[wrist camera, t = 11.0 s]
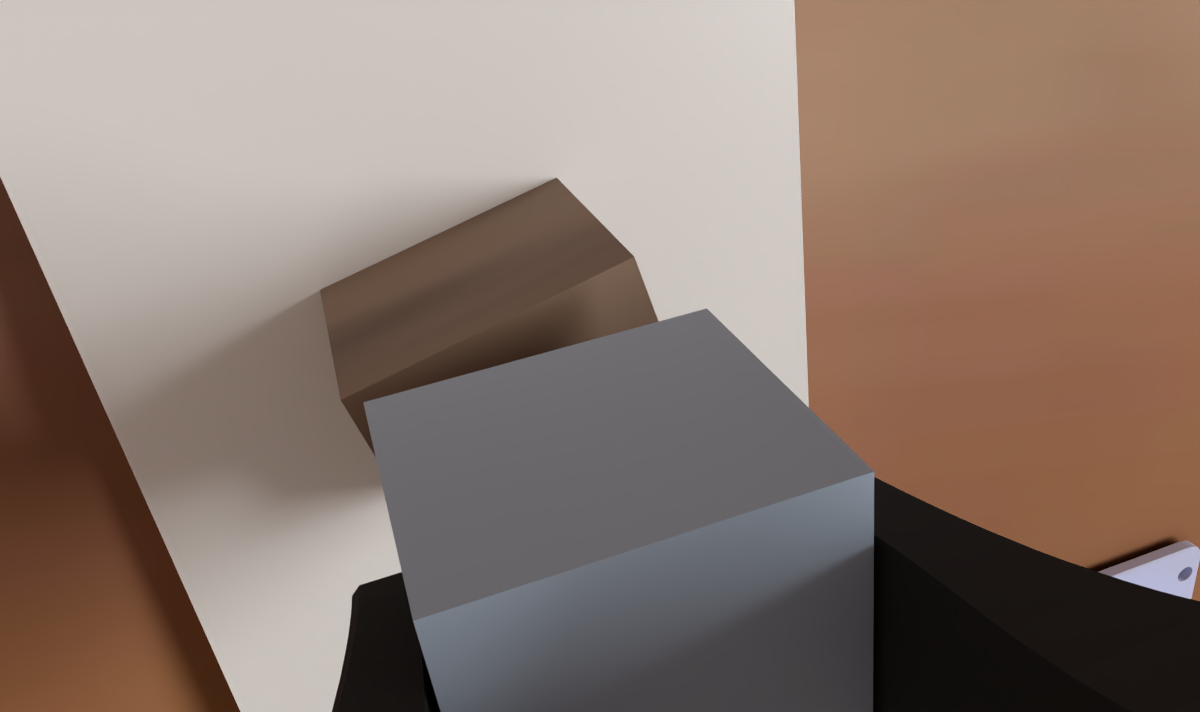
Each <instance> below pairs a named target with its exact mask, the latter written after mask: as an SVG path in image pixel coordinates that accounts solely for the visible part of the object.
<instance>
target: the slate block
mask: <svg viewBox="0 0 1200 712" xmlns="http://www.w3.org/2000/svg"><path fill="white" fill-rule="evenodd" d="M363 403H364V408H365V412H366V417H367V421H368V425H369V430H370V434H371V439H372V443H373V447H374V452H375V456H376V461H377V465H378V469H379V474H380V478H381V482H382V487H383V491H384V496H385V500H386V504H387V509H388V513H389V518H390V522H391V526H392V531H393V535H394V540H395V544H396V548H397V553H398V557H399V561H400V566H401V570H402V575H403V579H404V583H405V588H406V592H407V597H408V601H409V605H410V610H411V614H412V619H413V622H414V626H415V629H416V632H417V636H418V639H419V642H420V645H421V649H422V652H423V655H424V659H425V662H426V665H427V669H428V672H429V675H430V678H431V682H432V685H433V688H434V692H435V695H436V698H437V701H438V705H439V708H440V711H441V712H873V620H874V471H873V470H872V469H871V468H870V467H869V466H868V465H867V464H866V463H865V462H864V461H863V460H862V459H861V458H860V457H859V456H858V455H857V454H856V453H855V452H854V451H853V450H852V449H851V448H850V447H849V446H848V445H847V444H845V443H844V442H843V441H842V440H841V439H840V438H839V437H838V436H837V435H836V434H835V433H834V432H833V431H832V430H831V429H830V428H829V427H828V426H827V425H826V424H825V423H824V422H823V421H822V420H821V419H820V418H819V417H818V416H817V415H816V414H815V413H814V412H813V411H812V410H811V409H810V408H809V407H807V406H806V405H805V404H804V403H803V402H802V401H801V400H800V399H799V398H798V397H797V396H796V395H795V394H794V393H793V392H792V391H791V390H790V389H789V388H788V387H787V386H786V385H785V384H784V383H783V382H782V381H781V380H780V379H779V378H778V377H777V376H776V375H775V374H774V373H773V372H772V371H771V370H770V369H768V368H767V367H766V366H765V365H764V364H763V363H762V362H761V361H760V360H759V359H758V358H757V357H756V356H755V355H754V354H753V353H752V352H751V351H750V350H749V349H748V348H747V347H746V346H745V345H744V344H743V343H742V342H741V341H740V340H739V339H738V338H737V337H736V336H735V335H734V334H733V333H732V332H731V331H729V330H728V329H727V328H726V327H725V326H724V325H723V324H722V323H721V322H720V321H719V320H718V319H717V318H716V317H715V316H714V315H713V314H712V313H711V312H710V311H709V310H708V309H707V308H706V309H703V310H699V311H695V312H692V313H688V314H684V315H681V316H677V317H673V318H670V319H666V320H662V321H659V322H655V323H652V324H648V325H644V326H641V327H637V328H633V329H630V330H626V331H622V332H619V333H615V334H611V335H608V336H604V337H600V338H597V339H593V340H589V341H586V342H582V343H578V344H575V345H571V346H568V347H564V348H560V349H557V350H553V351H549V352H546V353H542V354H538V355H535V356H531V357H527V358H524V359H520V360H516V361H513V362H509V363H505V364H502V365H498V366H494V367H491V368H487V369H484V370H480V371H476V372H473V373H469V374H465V375H462V376H458V377H454V378H451V379H447V380H443V381H440V382H436V383H432V384H429V385H425V386H421V387H418V388H414V389H410V390H407V391H403V392H399V393H396V394H392V395H389V396H385V397H381V398H378V399H374V400H370V401H367V402H363Z"/></svg>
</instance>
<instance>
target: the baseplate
mask: <svg viewBox="0 0 1200 712" xmlns="http://www.w3.org/2000/svg"><path fill="white" fill-rule="evenodd" d="M0 177H1V179H2V182H3V184H4V186H5V188H6V191H7V193H8V195H9V197H10V199H11V202H12V204H13V206H14V208H15V211H16V213H17V215H18V217H19V220H20V222H21V224H22V226H23V228H24V231H25V233H26V235H27V237H28V240H29V242H30V244H31V246H32V249H33V251H34V253H35V255H36V257H37V260H38V262H39V264H40V266H41V269H42V271H43V273H44V275H45V277H46V280H47V282H48V284H49V286H50V289H51V291H52V293H53V295H54V298H55V300H56V302H57V304H58V306H59V309H60V311H61V313H62V315H63V318H64V320H65V322H66V324H67V326H68V329H69V331H70V333H71V335H72V338H73V340H74V342H75V344H76V347H77V349H78V351H79V353H80V355H81V358H82V360H83V362H84V364H85V367H86V369H87V371H88V373H89V376H90V378H91V380H92V382H93V384H94V387H95V389H96V391H97V393H98V396H99V398H100V400H101V402H102V404H103V407H104V409H105V411H106V413H107V416H108V418H109V420H110V422H111V425H112V427H113V429H114V431H115V433H116V436H117V438H118V440H119V442H120V445H121V447H122V449H123V451H124V453H125V456H126V458H127V460H128V462H129V465H130V467H131V469H132V471H133V474H134V476H135V478H136V480H137V482H138V485H139V487H140V489H141V491H142V494H143V496H144V498H145V500H146V502H147V505H148V507H149V509H150V511H151V514H152V516H153V518H154V520H155V523H156V525H157V527H158V529H159V531H160V534H161V536H162V538H163V540H164V543H165V545H166V547H167V549H168V552H169V554H170V556H171V558H172V560H173V563H174V565H175V567H176V569H177V572H178V574H179V576H180V578H181V580H182V583H183V585H184V587H185V589H186V592H187V594H188V596H189V598H190V601H191V603H192V605H193V607H194V609H195V612H196V614H197V616H198V618H199V621H200V623H201V625H202V627H203V629H204V632H205V634H206V636H207V638H208V641H209V643H210V645H211V647H212V650H213V652H214V654H215V656H216V658H217V661H218V663H219V665H220V667H221V670H222V672H223V674H224V676H225V679H226V681H227V683H228V685H229V687H230V690H231V692H232V694H233V696H234V699H235V701H236V703H237V705H238V707H239V710H240V712H332V709H333V705H334V701H335V697H336V693H337V689H338V685H339V681H340V676H341V671H342V666H343V661H344V656H345V651H346V646H347V640H348V634H349V627H350V618H351V607H352V595H353V594H354V592H355V591H356V589H357V588H358V586H359V585H362V584H365V583H368V582H371V581H374V580H378V579H381V578H384V577H387V576H390V575H394V574H397V573H400V572H402V570H401V566H400V561H399V557H398V553H397V548H396V544H395V540H394V535H393V531H392V526H391V522H390V518H389V513H388V509H387V504H386V500H385V496H384V491H383V487H382V482H381V478H380V474H379V469H378V465H377V461H376V457H375V455H374V454H373V452H372V450H371V449H370V447H369V446H368V444H367V442H366V441H365V439H364V437H363V436H362V434H361V433H360V431H359V429H358V428H357V426H356V424H355V423H354V421H353V419H352V418H351V416H350V415H349V413H348V411H347V410H346V408H345V406H344V405H343V403H342V402H341V400H340V394H339V389H338V384H337V378H336V373H335V368H334V362H333V357H332V352H331V346H330V341H329V336H328V330H327V325H326V320H325V314H324V309H323V304H322V298H321V293H320V290H321V289H323V288H325V287H327V286H329V285H331V284H333V283H336V282H338V281H340V280H342V279H344V278H346V277H348V276H350V275H352V274H355V273H357V272H359V271H361V270H363V269H365V268H367V267H369V266H371V265H373V264H376V263H378V262H380V261H382V260H384V259H386V258H388V257H390V256H392V255H395V254H397V253H399V252H401V251H403V250H405V249H407V248H409V247H411V246H414V245H416V244H418V243H420V242H422V241H424V240H426V239H428V238H430V237H433V236H435V235H437V234H439V233H441V232H443V231H445V230H447V229H449V228H451V227H454V226H456V225H458V224H460V223H462V222H464V221H466V220H468V219H470V218H473V217H475V216H477V215H479V214H481V213H483V212H485V211H487V210H489V209H492V208H494V207H496V206H498V205H500V204H502V203H504V202H506V201H508V200H511V199H513V198H515V197H517V196H519V195H521V194H523V193H525V192H527V191H529V190H532V189H534V188H536V187H538V186H540V185H542V184H544V183H546V182H548V181H551V180H553V179H555V178H558V179H559V180H560V181H561V182H562V183H563V184H564V185H565V187H566V188H567V189H568V190H569V191H570V192H571V193H572V194H573V195H574V196H575V197H576V198H577V199H578V200H579V201H580V202H581V203H582V204H583V205H584V206H585V207H586V208H587V209H588V210H589V211H590V212H591V213H592V214H593V215H594V216H595V217H596V218H597V219H598V220H599V221H600V222H601V223H602V224H603V225H604V226H605V227H606V228H607V229H608V230H609V231H610V232H611V233H612V234H613V235H614V236H615V237H616V239H617V240H618V241H619V242H620V243H621V244H622V245H623V246H624V247H625V248H626V249H627V250H628V251H629V252H630V253H631V254H632V255H633V256H634V257H635V260H636V262H637V265H638V268H639V270H640V273H641V276H642V278H643V281H644V284H645V286H646V289H647V292H648V294H649V297H650V300H651V303H652V305H653V308H654V311H655V313H656V316H657V319H658V321H662V320H666V319H670V318H673V317H677V316H681V315H684V314H688V313H692V312H695V311H699V310H703V309H706V308H707V309H708V310H709V311H710V312H711V313H712V314H713V315H714V316H715V317H716V318H717V319H718V320H719V321H720V322H721V323H722V324H723V325H724V326H725V327H726V328H727V329H728V330H729V331H731V332H732V333H733V334H734V335H735V336H736V337H737V338H738V339H739V340H740V341H741V342H742V343H743V344H744V345H745V346H746V347H747V348H748V349H749V350H750V351H751V352H752V353H753V354H754V355H755V356H756V357H757V358H758V359H759V360H760V361H761V362H762V363H763V364H764V365H765V366H766V367H767V368H768V369H770V370H771V371H772V372H773V373H774V374H775V375H776V376H777V377H778V378H779V379H780V380H781V381H782V382H783V383H784V384H785V385H786V386H787V387H788V388H789V389H790V390H791V391H792V392H793V393H794V394H795V395H796V396H797V397H798V398H799V399H800V400H801V401H802V402H803V403H804V404H805V405H806V406H807V407H809V402H808V374H807V346H806V318H805V290H804V261H803V233H802V205H801V177H800V149H799V121H798V93H797V65H796V36H795V8H794V0H0Z"/></svg>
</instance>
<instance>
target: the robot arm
mask: <svg viewBox="0 0 1200 712" xmlns="http://www.w3.org/2000/svg"><path fill="white" fill-rule="evenodd" d="M1199 560H1200V550H1199V548H1198V547H1197V546H1195V545H1194V544H1192V543H1191V542H1190V541H1180V542H1177V543H1174V544H1172V545H1169V546H1166V547H1164V548H1161V549H1158V550H1155V551H1153V552H1150V553H1147V554H1145V555H1142V556H1139V557H1136V558H1134V559H1131V560H1128V561H1126V562H1123V563H1120V564H1117V565H1115V566H1112V567H1109V568H1107V569H1104V570H1101V571H1099V572H1097V571H1094V570H1091V569H1088V568H1085V567H1082V566H1079V565H1076V564H1073V563H1070V562H1067V561H1064V560H1061V559H1058V558H1056V557H1053V556H1050V555H1048V554H1045V553H1042V552H1040V551H1037V550H1034V549H1032V548H1029V547H1027V546H1025V545H1022V544H1020V543H1017V542H1015V541H1012V540H1010V539H1007V538H1005V537H1003V536H1000V535H998V534H995V533H993V532H990V531H988V530H985V529H983V528H981V527H979V526H976V525H974V524H972V523H970V522H967V521H965V520H963V519H961V518H958V517H956V516H954V515H952V514H950V513H947V512H945V511H943V510H941V509H939V508H937V507H935V506H932V505H930V504H928V503H926V502H924V501H922V500H920V499H918V498H916V497H914V496H912V495H909V494H907V493H905V492H903V491H901V490H899V489H897V488H895V487H893V486H891V485H889V484H887V483H885V482H883V481H881V480H879V479H877V478H875V477H874V620H873V712H1200V601H1196V600H1192V599H1191V598H1192V593H1193V588H1194V584H1195V579H1196V574H1197V569H1198V565H1199ZM332 712H441V711H440V708H439V705H438V701H437V698H436V695H435V692H434V688H433V685H432V682H431V678H430V675H429V672H428V669H427V665H426V662H425V659H424V655H423V652H422V649H421V645H420V642H419V639H418V636H417V632H416V629H415V626H414V622H413V619H412V614H411V610H410V605H409V601H408V597H407V592H406V588H405V583H404V579H403V575H402V572H400V573H397V574H394V575H390V576H387V577H384V578H381V579H378V580H374V581H371V582H368V583H365V584H362V585H359V586H358V588H357V589H356V591H355V592H354V594H353V595H352V607H351V618H350V627H349V634H348V640H347V646H346V651H345V656H344V661H343V666H342V671H341V676H340V681H339V685H338V689H337V693H336V697H335V701H334V705H333V709H332Z"/></svg>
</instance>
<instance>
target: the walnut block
mask: <svg viewBox="0 0 1200 712" xmlns="http://www.w3.org/2000/svg"><path fill="white" fill-rule="evenodd" d="M320 293H321V298H322V304H323V309H324V314H325V320H326V325H327V330H328V336H329V341H330V346H331V352H332V357H333V362H334V368H335V373H336V378H337V384H338V389H339V394H340V400H341V402H342V403H343V405H344V406H345V408H346V410H347V411H348V413H349V415H350V416H351V418H352V419H353V421H354V423H355V424H356V426H357V428H358V429H359V431H360V433H361V434H362V436H363V437H364V439H365V441H366V442H367V444H368V446H369V447H370V449H371V450H372V452H373V454H374V455H375V452H374V447H373V443H372V439H371V434H370V430H369V425H368V421H367V417H366V412H365V408H364V403H363V402H367V401H370V400H374V399H378V398H381V397H385V396H389V395H392V394H396V393H399V392H403V391H407V390H410V389H414V388H418V387H421V386H425V385H429V384H432V383H436V382H440V381H443V380H447V379H451V378H454V377H458V376H462V375H465V374H469V373H473V372H476V371H480V370H484V369H487V368H491V367H494V366H498V365H502V364H505V363H509V362H513V361H516V360H520V359H524V358H527V357H531V356H535V355H538V354H542V353H546V352H549V351H553V350H557V349H560V348H564V347H568V346H571V345H575V344H578V343H582V342H586V341H589V340H593V339H597V338H600V337H604V336H608V335H611V334H615V333H619V332H622V331H626V330H630V329H633V328H637V327H641V326H644V325H648V324H652V323H655V322H659V321H658V319H657V316H656V313H655V311H654V308H653V305H652V303H651V300H650V297H649V294H648V292H647V289H646V286H645V284H644V281H643V278H642V276H641V273H640V270H639V268H638V265H637V262H636V260H635V257H634V256H633V255H632V254H631V253H630V252H629V251H628V250H627V249H626V248H625V247H624V246H623V245H622V244H621V243H620V242H619V241H618V240H617V239H616V237H615V236H614V235H613V234H612V233H611V232H610V231H609V230H608V229H607V228H606V227H605V226H604V225H603V224H602V223H601V222H600V221H599V220H598V219H597V218H596V217H595V216H594V215H593V214H592V213H591V212H590V211H589V210H588V209H587V208H586V207H585V206H584V205H583V204H582V203H581V202H580V201H579V200H578V199H577V198H576V197H575V196H574V195H573V194H572V193H571V192H570V191H569V190H568V189H567V188H566V187H565V185H564V184H563V183H562V182H561V181H560V180H559V179H558V178H555V179H553V180H551V181H548V182H546V183H544V184H542V185H540V186H538V187H536V188H534V189H532V190H529V191H527V192H525V193H523V194H521V195H519V196H517V197H515V198H513V199H511V200H508V201H506V202H504V203H502V204H500V205H498V206H496V207H494V208H492V209H489V210H487V211H485V212H483V213H481V214H479V215H477V216H475V217H473V218H470V219H468V220H466V221H464V222H462V223H460V224H458V225H456V226H454V227H451V228H449V229H447V230H445V231H443V232H441V233H439V234H437V235H435V236H433V237H430V238H428V239H426V240H424V241H422V242H420V243H418V244H416V245H414V246H411V247H409V248H407V249H405V250H403V251H401V252H399V253H397V254H395V255H392V256H390V257H388V258H386V259H384V260H382V261H380V262H378V263H376V264H373V265H371V266H369V267H367V268H365V269H363V270H361V271H359V272H357V273H355V274H352V275H350V276H348V277H346V278H344V279H342V280H340V281H338V282H336V283H333V284H331V285H329V286H327V287H325V288H323V289H321V290H320ZM375 457H376V456H375Z"/></svg>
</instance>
